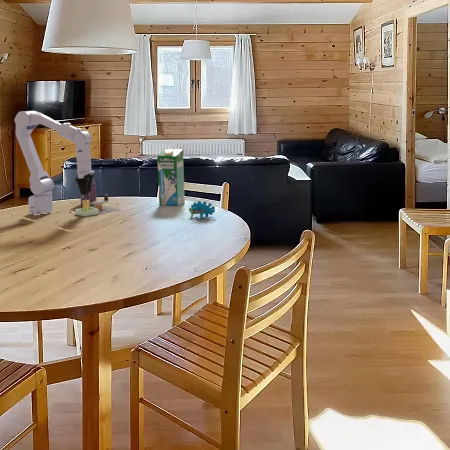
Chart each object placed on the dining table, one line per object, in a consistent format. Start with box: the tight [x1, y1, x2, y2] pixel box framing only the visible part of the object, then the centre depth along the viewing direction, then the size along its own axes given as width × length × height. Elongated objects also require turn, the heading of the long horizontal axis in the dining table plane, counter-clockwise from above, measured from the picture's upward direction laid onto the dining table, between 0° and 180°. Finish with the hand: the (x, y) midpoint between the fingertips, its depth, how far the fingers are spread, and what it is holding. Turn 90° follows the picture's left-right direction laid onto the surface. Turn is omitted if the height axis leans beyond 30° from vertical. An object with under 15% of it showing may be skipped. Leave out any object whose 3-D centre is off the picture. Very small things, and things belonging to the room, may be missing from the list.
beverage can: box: [79, 178, 97, 206], centre depth 280 cm, size 7×7×12 cm
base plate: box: [85, 200, 123, 218], centre depth 265 cm, size 19×17×4 cm
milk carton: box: [157, 148, 186, 207], centre depth 279 cm, size 9×9×25 cm
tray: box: [74, 207, 99, 218], centre depth 257 cm, size 7×7×2 cm
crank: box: [89, 193, 109, 206], centre depth 267 cm, size 10×3×4 cm, turn 135°
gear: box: [188, 200, 216, 220], centre depth 250 cm, size 11×6×10 cm
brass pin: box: [82, 200, 90, 211], centre depth 257 cm, size 3×3×6 cm
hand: (85, 193), depth 256 cm, fingers open, 7 cm apart
